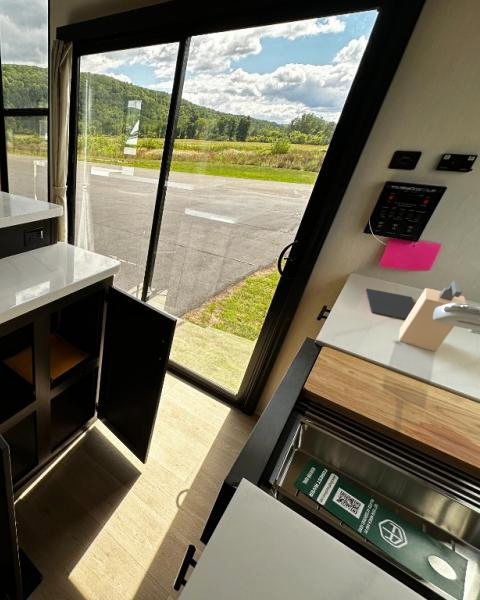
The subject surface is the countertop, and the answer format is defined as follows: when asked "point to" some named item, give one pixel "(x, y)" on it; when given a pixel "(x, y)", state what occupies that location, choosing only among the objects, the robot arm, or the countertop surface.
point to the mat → (390, 304)
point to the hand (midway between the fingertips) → (476, 330)
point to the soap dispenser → (429, 318)
